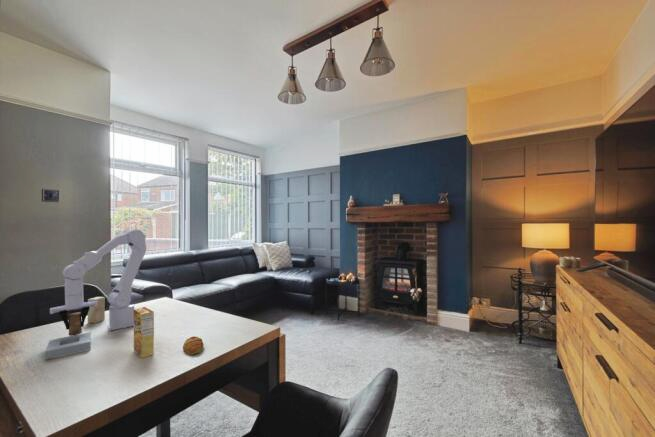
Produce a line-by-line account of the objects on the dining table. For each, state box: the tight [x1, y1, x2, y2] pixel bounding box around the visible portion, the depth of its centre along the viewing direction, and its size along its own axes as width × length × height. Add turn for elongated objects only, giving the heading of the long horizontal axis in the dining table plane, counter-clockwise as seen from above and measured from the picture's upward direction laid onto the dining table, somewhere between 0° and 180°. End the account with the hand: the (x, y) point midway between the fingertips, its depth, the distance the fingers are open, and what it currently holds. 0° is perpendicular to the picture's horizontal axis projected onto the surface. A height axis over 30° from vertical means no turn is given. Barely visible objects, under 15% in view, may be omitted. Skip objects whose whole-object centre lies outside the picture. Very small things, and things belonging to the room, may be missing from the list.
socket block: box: [44, 332, 92, 361], centre depth 109 cm, size 12×12×3 cm
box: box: [87, 296, 106, 324], centre depth 139 cm, size 5×4×11 cm
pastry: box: [182, 336, 205, 356], centre depth 106 cm, size 9×7×4 cm
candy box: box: [133, 306, 155, 359], centre depth 105 cm, size 9×4×15 cm, turn 50°
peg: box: [68, 311, 83, 337], centre depth 119 cm, size 4×4×8 cm
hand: (75, 327), depth 119 cm, fingers closed on peg, 4 cm apart
